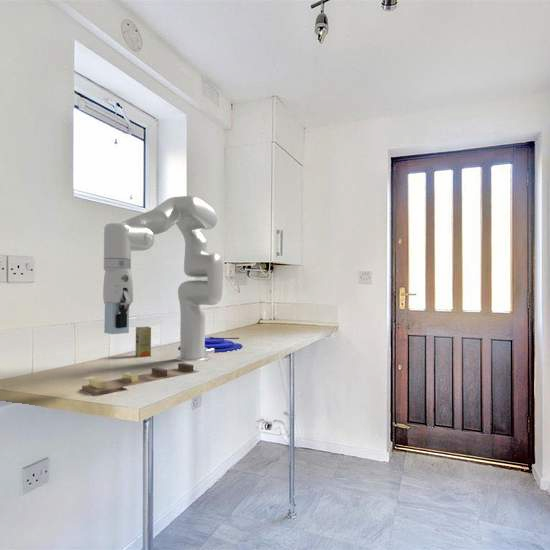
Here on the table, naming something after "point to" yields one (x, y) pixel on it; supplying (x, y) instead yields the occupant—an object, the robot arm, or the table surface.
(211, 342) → the coiled blue cable
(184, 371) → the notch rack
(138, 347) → the shoe polish box
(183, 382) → the table surface
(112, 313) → the painted block
